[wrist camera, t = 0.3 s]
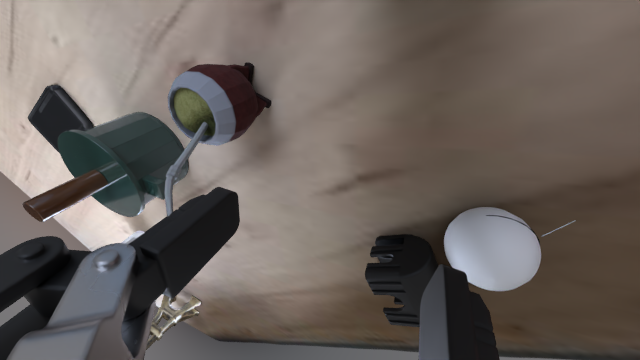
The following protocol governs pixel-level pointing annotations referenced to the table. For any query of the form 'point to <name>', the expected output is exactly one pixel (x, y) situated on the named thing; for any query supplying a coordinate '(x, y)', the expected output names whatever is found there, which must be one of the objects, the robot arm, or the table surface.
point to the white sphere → (493, 248)
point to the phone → (57, 115)
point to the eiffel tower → (171, 317)
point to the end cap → (401, 275)
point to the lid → (89, 179)
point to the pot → (143, 149)
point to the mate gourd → (211, 109)
